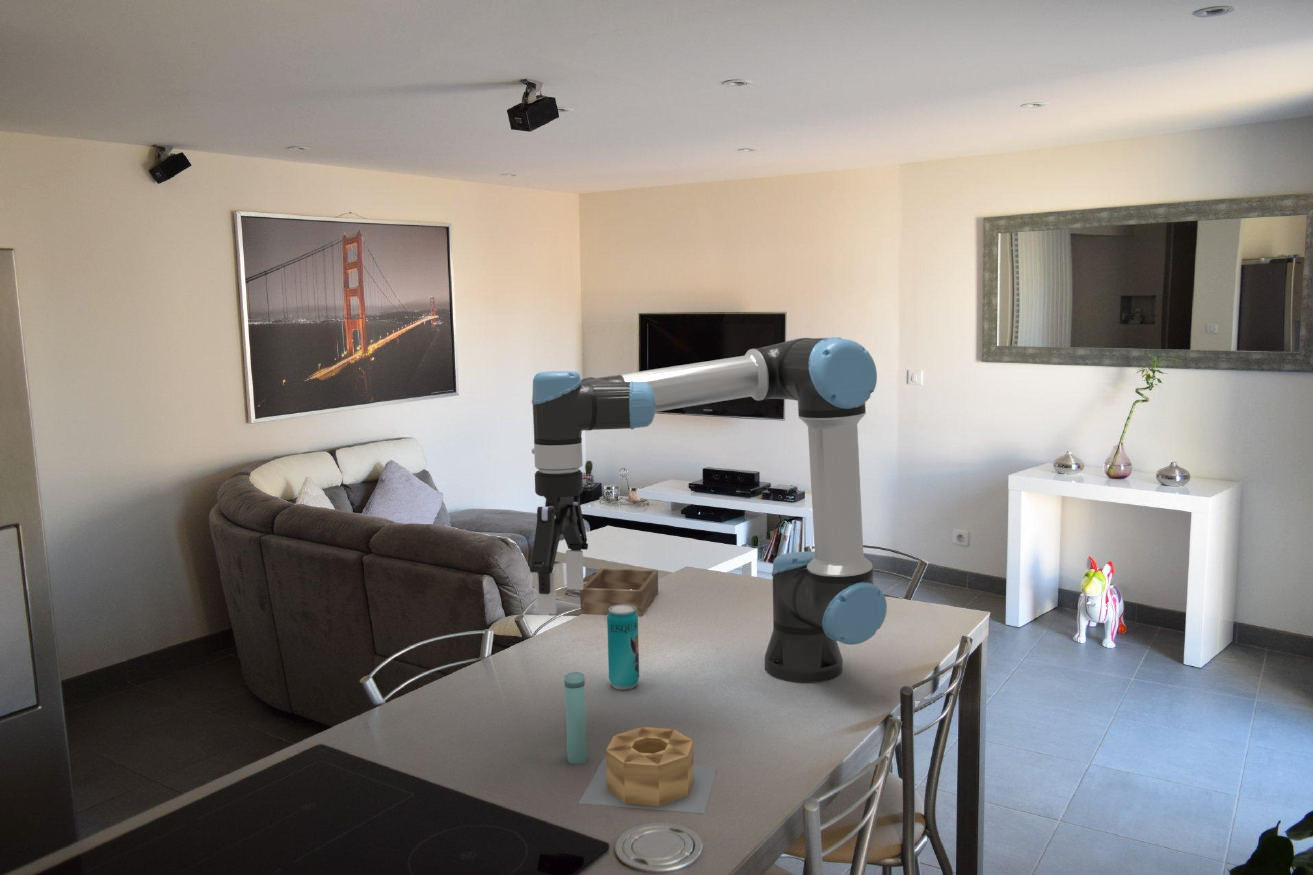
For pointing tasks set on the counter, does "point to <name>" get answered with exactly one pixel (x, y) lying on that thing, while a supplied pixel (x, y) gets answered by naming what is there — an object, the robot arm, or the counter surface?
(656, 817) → the counter surface
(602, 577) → the open wooden box
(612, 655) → the beverage can
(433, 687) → the counter surface
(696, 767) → the slate mat
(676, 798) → the wooden bead
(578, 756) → the teal capped bottle
